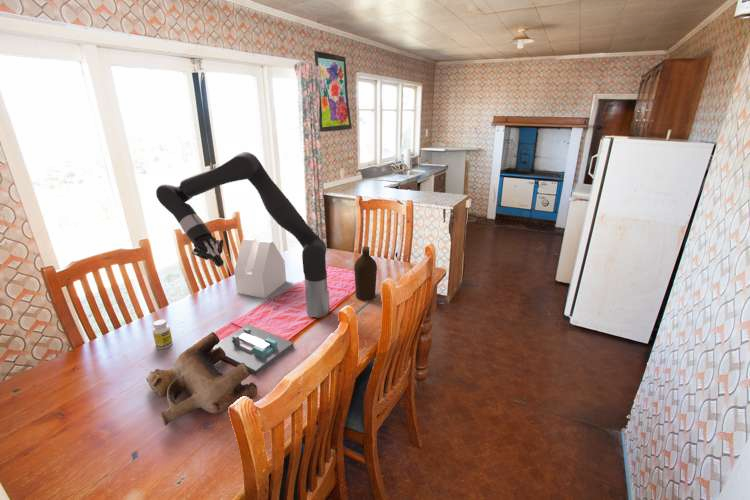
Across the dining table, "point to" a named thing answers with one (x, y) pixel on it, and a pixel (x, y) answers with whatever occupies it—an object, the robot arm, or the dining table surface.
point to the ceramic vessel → (200, 381)
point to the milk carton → (259, 268)
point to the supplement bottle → (162, 334)
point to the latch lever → (253, 341)
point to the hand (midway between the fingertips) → (221, 265)
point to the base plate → (254, 349)
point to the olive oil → (365, 276)
